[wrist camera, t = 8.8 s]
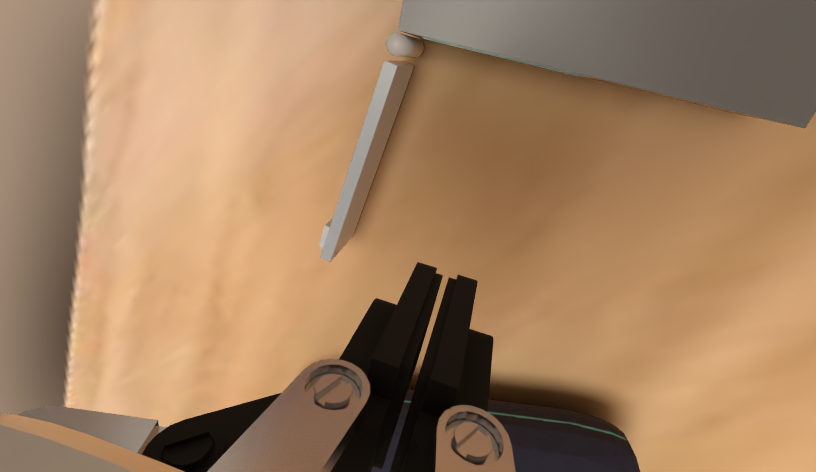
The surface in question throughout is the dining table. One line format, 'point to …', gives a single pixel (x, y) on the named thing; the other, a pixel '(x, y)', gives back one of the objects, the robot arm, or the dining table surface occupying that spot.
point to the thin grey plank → (366, 156)
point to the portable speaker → (549, 439)
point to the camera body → (643, 46)
